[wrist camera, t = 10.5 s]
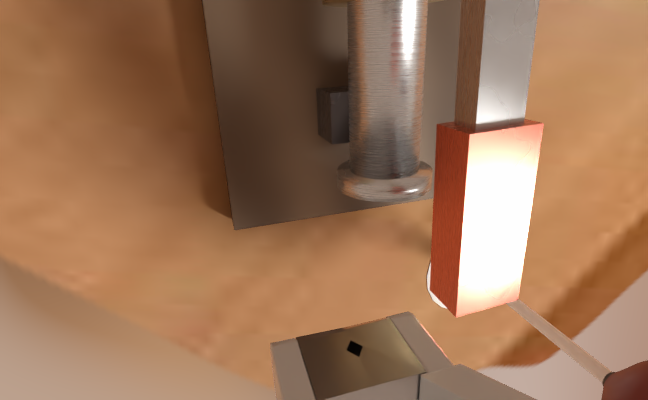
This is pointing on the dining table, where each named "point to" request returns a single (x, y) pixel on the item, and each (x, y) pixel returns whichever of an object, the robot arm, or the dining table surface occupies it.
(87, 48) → the dining table surface
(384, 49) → the pipe valve
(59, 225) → the dining table surface
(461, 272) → the valve lever
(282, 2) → the walnut board
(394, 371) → the robot arm
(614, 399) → the wineglass
